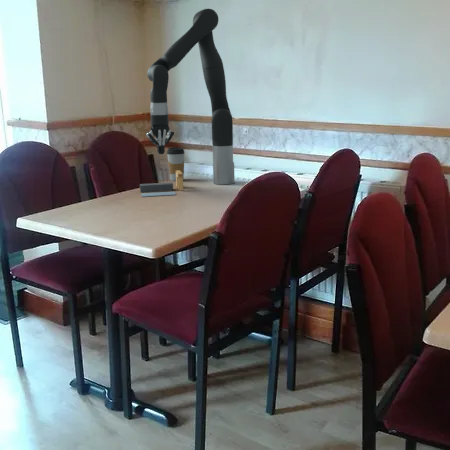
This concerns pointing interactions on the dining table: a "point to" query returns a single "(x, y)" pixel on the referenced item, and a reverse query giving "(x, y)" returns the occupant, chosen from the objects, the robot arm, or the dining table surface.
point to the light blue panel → (157, 194)
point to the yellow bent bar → (179, 180)
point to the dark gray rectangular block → (156, 187)
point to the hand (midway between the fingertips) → (161, 154)
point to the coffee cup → (175, 161)
